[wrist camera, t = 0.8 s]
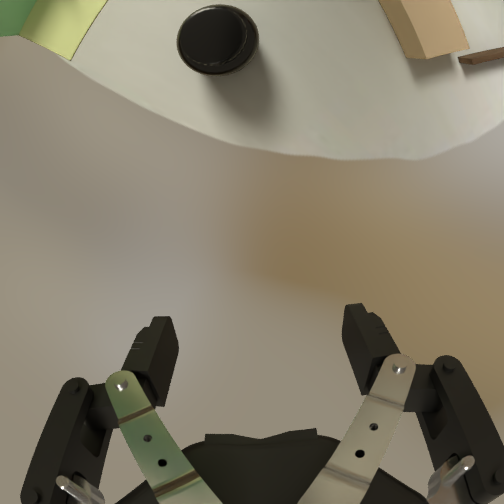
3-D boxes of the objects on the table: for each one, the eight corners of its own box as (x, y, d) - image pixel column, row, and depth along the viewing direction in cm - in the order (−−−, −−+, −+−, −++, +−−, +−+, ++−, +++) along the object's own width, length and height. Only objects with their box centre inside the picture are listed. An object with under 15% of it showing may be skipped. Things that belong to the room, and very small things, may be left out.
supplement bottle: (180, 52, 25) (145, 46, 16) (220, 8, 22) (206, -22, 13) (228, 86, 28) (217, 95, 18) (269, 43, 25) (282, 29, 15)
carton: (374, -6, 20) (392, -14, 16) (419, -14, 18) (440, -19, 14) (405, 57, 25) (427, 59, 21) (446, 46, 23) (469, 48, 19)
